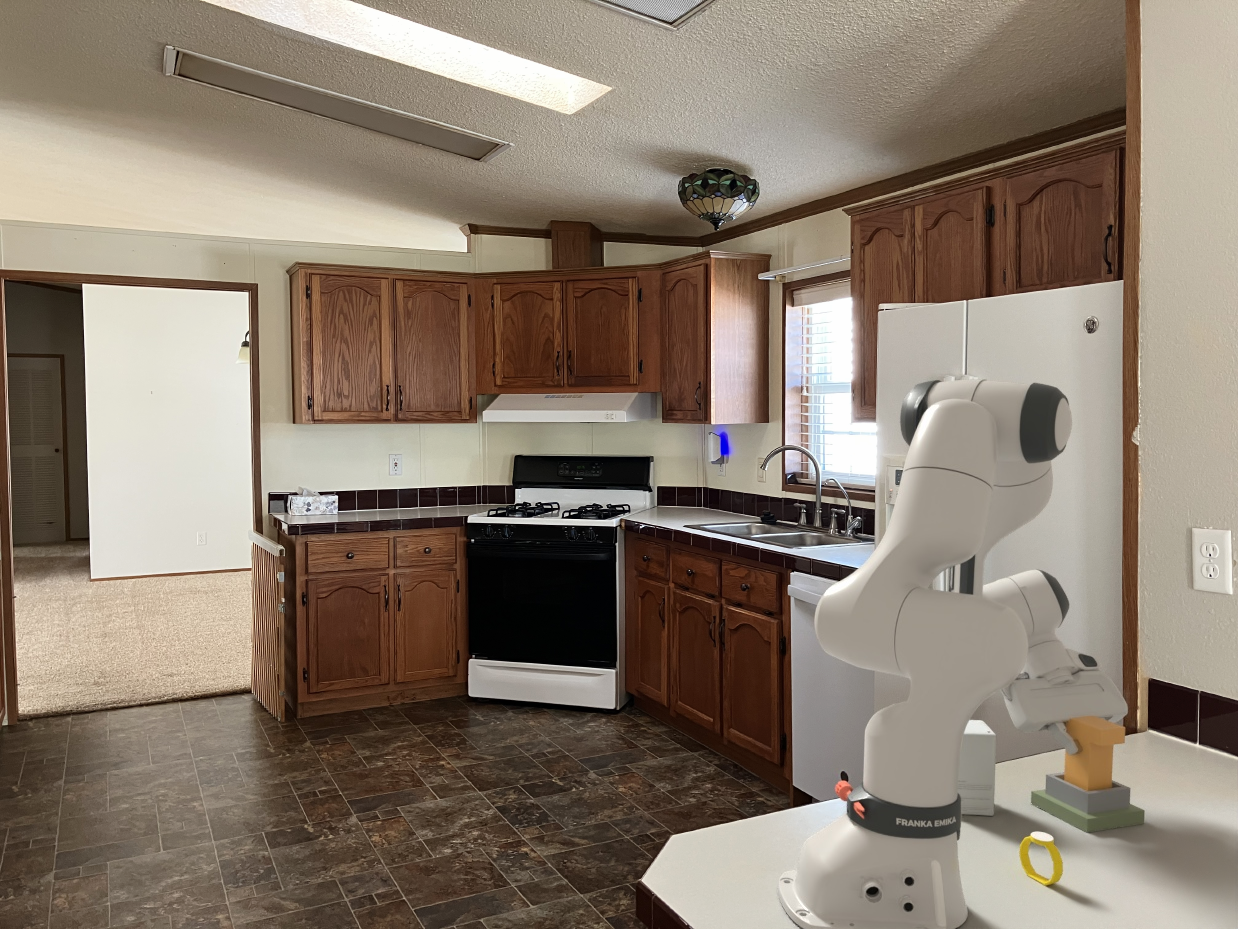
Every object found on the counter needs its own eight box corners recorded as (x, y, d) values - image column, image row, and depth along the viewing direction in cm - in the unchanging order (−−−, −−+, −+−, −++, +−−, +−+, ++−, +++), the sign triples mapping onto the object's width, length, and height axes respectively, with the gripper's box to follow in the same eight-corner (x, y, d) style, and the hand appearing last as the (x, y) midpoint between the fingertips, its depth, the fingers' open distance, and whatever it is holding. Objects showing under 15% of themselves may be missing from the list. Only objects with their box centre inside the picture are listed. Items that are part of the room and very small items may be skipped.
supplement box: (981, 798, 152) (984, 719, 152) (994, 817, 145) (997, 734, 144) (933, 795, 153) (936, 717, 153) (944, 814, 146) (947, 732, 145)
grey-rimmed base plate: (1086, 832, 140) (1088, 798, 140) (1030, 803, 150) (1032, 772, 150) (1143, 823, 144) (1145, 790, 144) (1085, 796, 154) (1086, 765, 154)
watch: (1065, 890, 123) (1070, 846, 122) (1049, 894, 122) (1053, 849, 121) (1029, 866, 129) (1033, 824, 128) (1013, 870, 127) (1017, 827, 127)
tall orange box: (1064, 780, 148) (1066, 716, 148) (1087, 777, 150) (1090, 714, 149) (1098, 797, 142) (1101, 730, 142) (1122, 793, 144) (1125, 727, 143)
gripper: (1004, 665, 149) (1050, 748, 140) (1106, 656, 156) (1155, 735, 147) (983, 686, 154) (1026, 767, 145) (1083, 677, 161) (1129, 754, 152)
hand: (1092, 751), depth 146 cm, fingers closed on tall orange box, 5 cm apart
